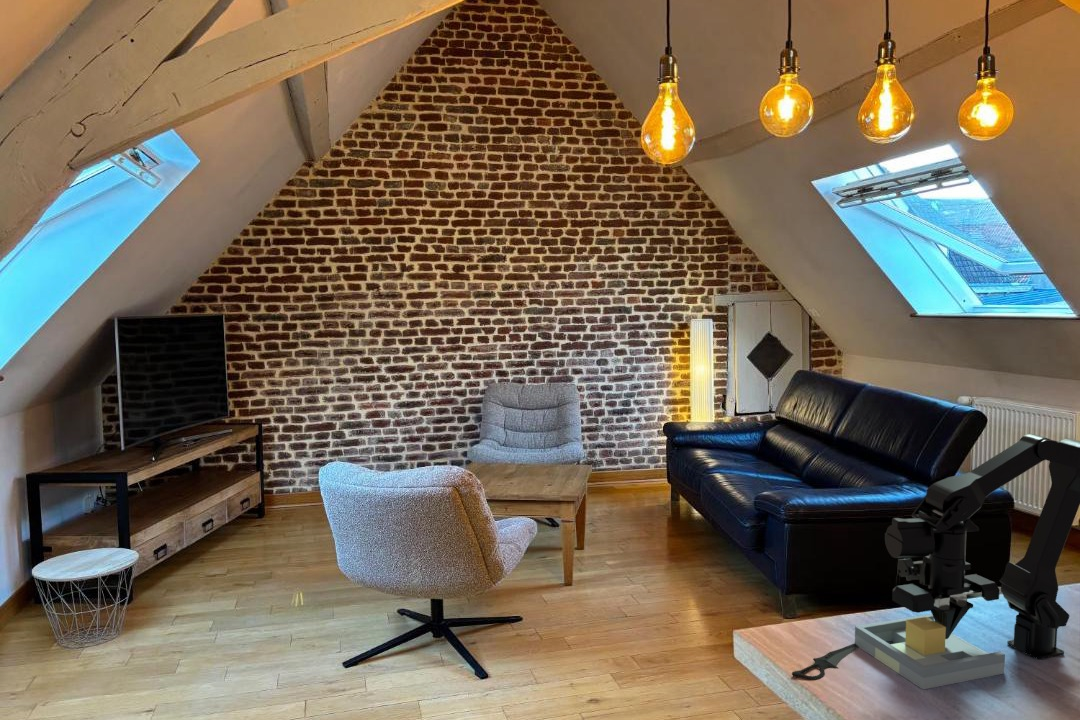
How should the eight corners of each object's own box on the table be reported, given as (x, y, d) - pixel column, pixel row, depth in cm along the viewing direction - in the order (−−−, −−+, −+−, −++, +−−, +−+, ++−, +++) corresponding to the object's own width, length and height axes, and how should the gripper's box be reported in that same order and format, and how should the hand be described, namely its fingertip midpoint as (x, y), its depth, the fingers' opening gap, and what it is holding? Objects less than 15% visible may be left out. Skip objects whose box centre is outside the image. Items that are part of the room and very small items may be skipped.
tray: (929, 631, 151) (929, 613, 150) (1004, 673, 134) (1005, 653, 134) (854, 644, 146) (855, 626, 146) (923, 689, 130) (923, 669, 129)
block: (925, 640, 143) (926, 616, 142) (944, 651, 138) (945, 627, 138) (905, 644, 142) (906, 620, 141) (923, 655, 137) (924, 630, 137)
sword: (808, 686, 132) (809, 681, 132) (787, 675, 135) (787, 669, 135) (891, 642, 148) (892, 637, 148) (870, 633, 151) (870, 628, 151)
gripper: (954, 534, 150) (951, 613, 151) (872, 545, 144) (869, 626, 146) (1003, 554, 139) (999, 638, 141) (916, 566, 134) (913, 653, 135)
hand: (944, 638), depth 141 cm, fingers closed
